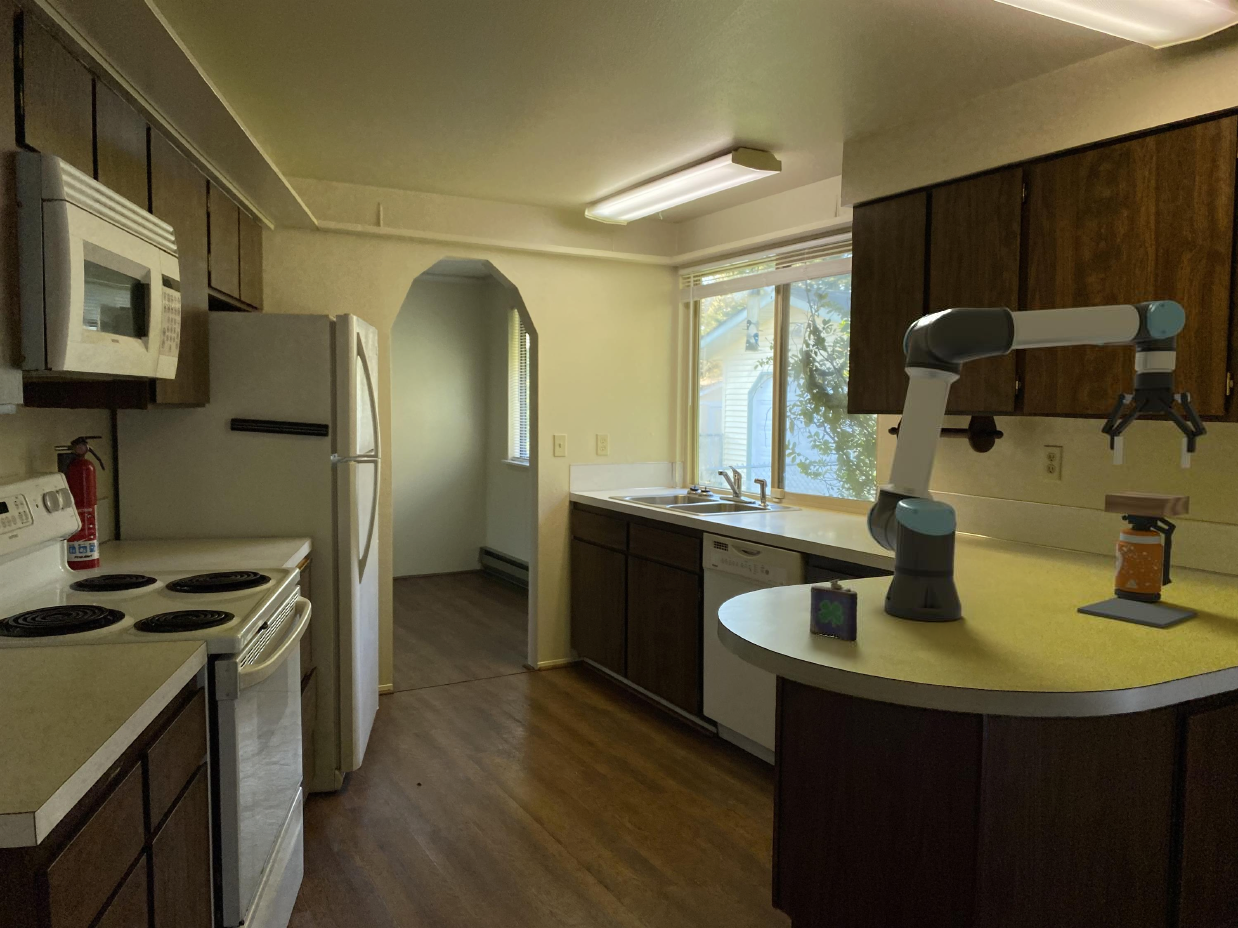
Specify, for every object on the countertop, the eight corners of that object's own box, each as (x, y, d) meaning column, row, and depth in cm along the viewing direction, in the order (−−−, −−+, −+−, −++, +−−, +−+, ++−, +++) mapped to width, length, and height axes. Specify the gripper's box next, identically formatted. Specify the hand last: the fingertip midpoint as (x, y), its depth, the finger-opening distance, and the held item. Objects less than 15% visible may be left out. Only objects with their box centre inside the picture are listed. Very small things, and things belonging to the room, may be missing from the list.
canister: (1113, 593, 190) (1118, 509, 189) (1170, 599, 185) (1175, 512, 183) (1114, 600, 183) (1118, 512, 181) (1173, 606, 177) (1178, 516, 176)
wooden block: (1163, 517, 174) (1164, 499, 173) (1104, 512, 183) (1105, 494, 183) (1188, 513, 182) (1189, 495, 182) (1130, 508, 191) (1131, 491, 191)
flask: (807, 632, 152) (809, 576, 152) (814, 629, 154) (816, 574, 154) (852, 642, 146) (854, 584, 145) (860, 639, 148) (862, 582, 147)
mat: (1162, 628, 158) (1162, 624, 158) (1077, 611, 171) (1077, 608, 171) (1197, 615, 169) (1197, 611, 169) (1114, 601, 182) (1114, 597, 182)
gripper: (1227, 370, 173) (1222, 468, 174) (1102, 374, 193) (1098, 462, 194) (1214, 368, 168) (1209, 469, 170) (1088, 373, 188) (1084, 463, 190)
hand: (1150, 466), depth 182 cm, fingers open, 13 cm apart
